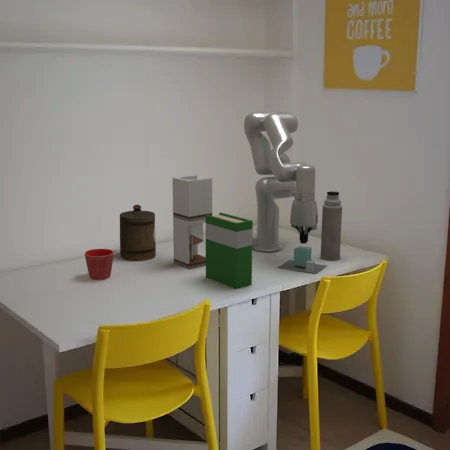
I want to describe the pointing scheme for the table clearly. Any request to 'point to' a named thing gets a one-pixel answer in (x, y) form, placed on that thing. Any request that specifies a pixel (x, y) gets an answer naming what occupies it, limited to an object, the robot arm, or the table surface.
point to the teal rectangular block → (302, 255)
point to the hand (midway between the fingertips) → (303, 242)
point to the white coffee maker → (190, 218)
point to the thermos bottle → (331, 227)
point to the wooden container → (137, 235)
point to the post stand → (309, 268)
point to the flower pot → (99, 263)
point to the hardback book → (229, 250)
